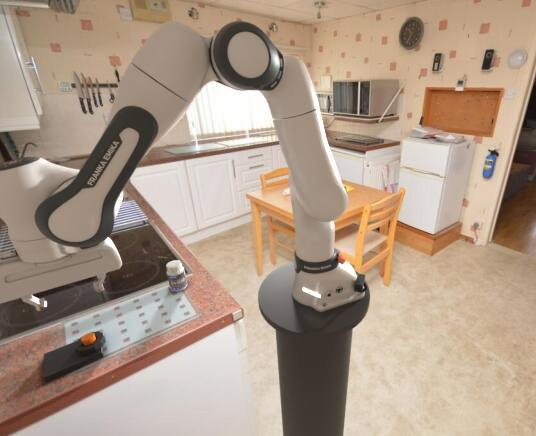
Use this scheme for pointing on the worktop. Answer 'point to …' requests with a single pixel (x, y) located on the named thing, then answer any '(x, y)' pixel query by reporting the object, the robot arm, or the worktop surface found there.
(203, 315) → the worktop surface
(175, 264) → the pill bottle
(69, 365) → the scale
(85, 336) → the tare button
